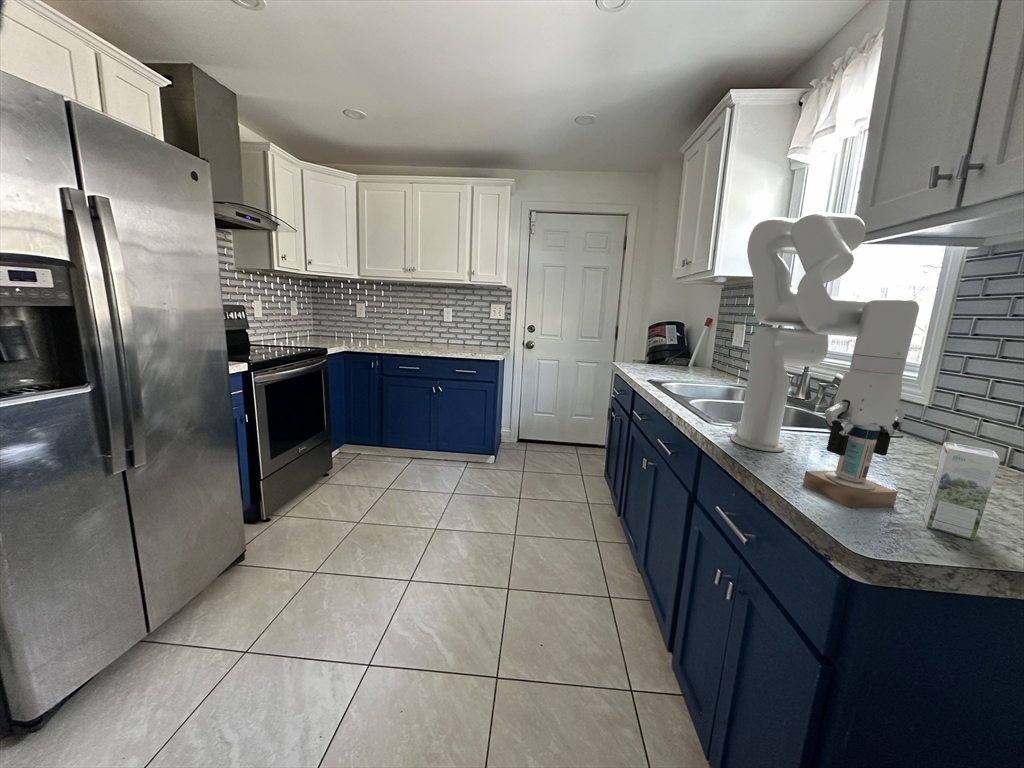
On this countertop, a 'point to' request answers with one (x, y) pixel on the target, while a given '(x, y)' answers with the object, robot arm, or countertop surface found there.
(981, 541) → the countertop surface
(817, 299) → the robot arm
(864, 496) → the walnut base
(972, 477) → the syrup box
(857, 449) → the beer can
